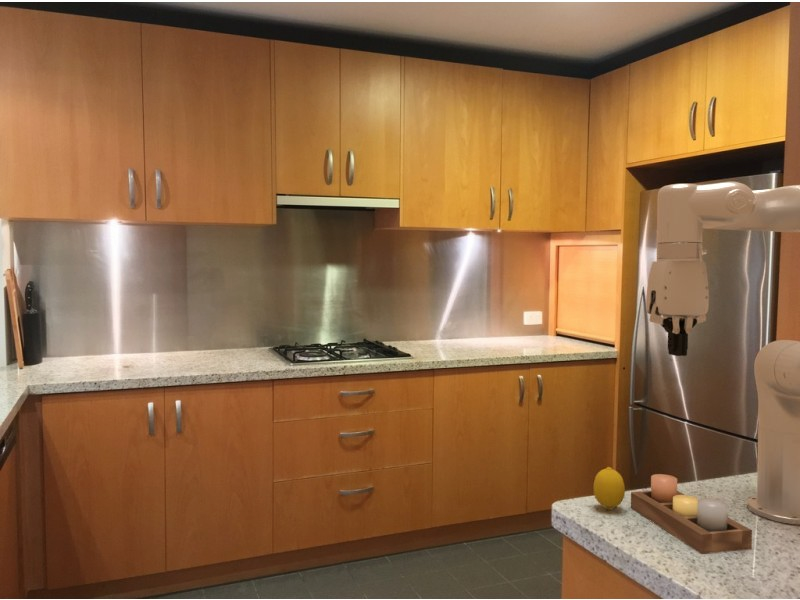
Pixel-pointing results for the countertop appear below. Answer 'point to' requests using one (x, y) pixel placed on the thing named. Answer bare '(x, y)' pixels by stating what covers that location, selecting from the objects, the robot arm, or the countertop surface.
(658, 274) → the robot arm
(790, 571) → the countertop surface
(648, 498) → the wooden compartment tray
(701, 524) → the grey short rounded cylinder
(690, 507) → the yellow short cylinder
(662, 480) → the pink cylinder
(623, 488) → the lemon
